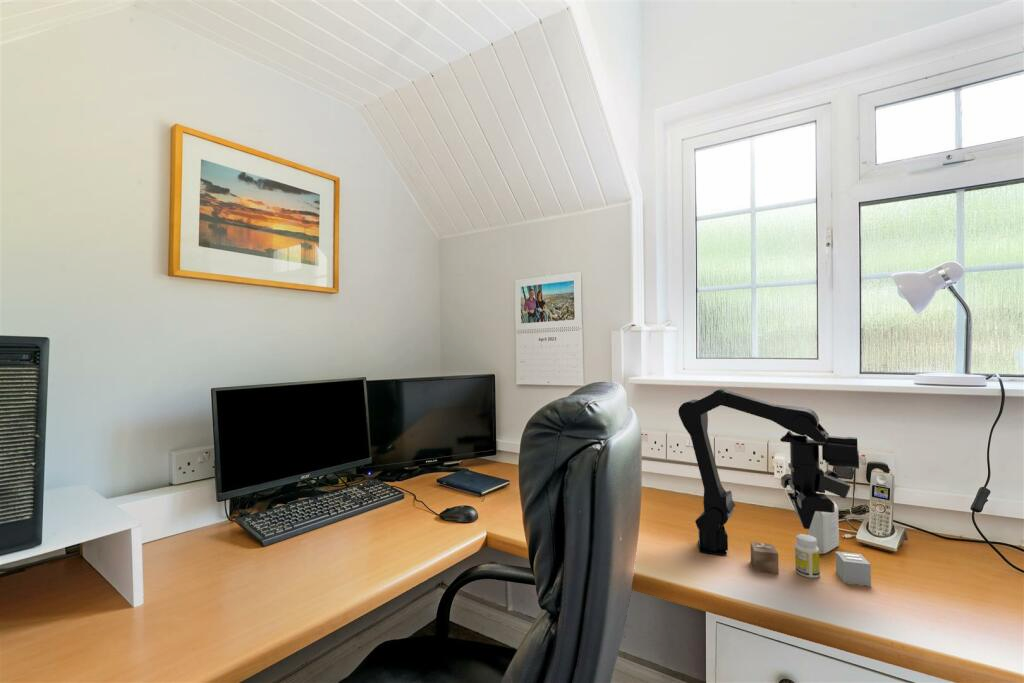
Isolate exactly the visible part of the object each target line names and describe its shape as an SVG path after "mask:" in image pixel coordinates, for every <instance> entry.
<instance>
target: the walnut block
mask: <svg viewBox="0 0 1024 683" xmlns="http://www.w3.org/2000/svg"><path fill="white" fill-rule="evenodd" d="M749 545H750V563H751V565H752V569H753V571H754V572H757V573H763V574H771V575H779V574H780V572H779V571H780V568H779V566H780V565H779V552H778V550H777V548H776V547H775V545H774V544H771V543H765V542H764V543H763V542H755V541H750V544H749Z"/></svg>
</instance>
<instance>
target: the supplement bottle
mask: <svg viewBox="0 0 1024 683" xmlns="http://www.w3.org/2000/svg"><path fill="white" fill-rule="evenodd" d="M795 538H796V540H795V542H796V543H795V544H794V556H795V557H794V559H795V561H794V563H795V571H796V572H797V574H798V575H801V576H803V577H805V578H810V579H816V578H819V577H820V574H821V571H820V568H821V566H820V554H819V549H818V547H817V540H816V538H815V537H813V536H810V535H808V534H806V533H805V534H804V533H803V534H802V533H800V534H797V535H796V537H795Z"/></svg>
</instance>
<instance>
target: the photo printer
mask: <svg viewBox="0 0 1024 683" xmlns="http://www.w3.org/2000/svg"><path fill="white" fill-rule="evenodd" d="M831 501H832V502H833V503H834V511H835V512H833V513H830V512H819V511H815V514H814V516H813V519H812V522H811V525H810V528H809V529H807V535H810V536H813V537H815V538H816V540H817V547H818V549H819V555H822V554H827V553H829V552H830V551H832V550H834V549H835V548H837V547H838V546H839V545H840V544H839V543H840V532H839V528H840V527H839V524H840V523H839V508H838V505H837V503H835V502H834V500H831Z"/></svg>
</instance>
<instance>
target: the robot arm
mask: <svg viewBox="0 0 1024 683" xmlns="http://www.w3.org/2000/svg"><path fill="white" fill-rule="evenodd" d="M721 406H722V407H723V406H724V407H727V408H730V409H734V410H737V411H739V412H743V413H746V414H749V415H753V416H756V417H759V418H763V419H766V420H768V421H771V422H774V423H776V424H777V425H778V426H781V427H782V428H784V429H786V430H787V432H786V433H785V435H782V436H781V438H780V442H782V443H789V448H790V449H789V452H790V453H789V455H790V462H788V463H787V467H788V468H789V469H790V474H785V473H784V475H782V476H781V477H780V483H781V484H780V485H781V487H782V488H784V489H787V487H788V486H789V488H790V490H791V492H787V496H788V498H789V500H790V502H791V503H792V506H793V508H794V511H795V512H796V515H797V517H798V518H799V521H800V523H801V525H802V526H801V527H802V528H803V529H804V530H808V529H809V528H810V525H811V522H812V519H813V516H814V514H815V511H819V512H830V513H833V512H835V511H834V503H835V502H834V501H833V500H831V498H829V497H828V496H827V495H826V492H828V493H830V494H834V495H836V496H839V498H842V499H846V498H847V496H848V494H849V492H850V489H851V487H852V486H851V485H850V484H849V483H847V482H846V481H845V480H843V479H841V478H839V476H838V473H837V472H835V471H833V470H830V469H827V470H826V471H824V470H823V469H822V468H820V447H821V458H822V461H825V463H827V464H828V466H831V467H841V468H847V469H848V468H849V469H856V470H859V469H860V452H859V449H858V448H859V447H858V438H857V437H854V436H846V437H845V436H833V435H830V434H829V433H828V432H827V430H826V429H825V428H824V427H823V425H821V424H820V419H819V416H818V414H817V413H816V411H814V410H813V409H811V408H809V407H802V406H794V405H783V404H775V403H772V402H768V401H766V400H765V401H764V400H761V399H758V398H754V397H750V396H748V395H744V394H740V393H737V392H733V391H730V390H728V389H726V388H720V389H717V390H715V391H713V392H712V393H711V394H708V395H706V396H704V397H703V398H700V399H690V400H688V401H686V402H683V403H682V404H680V407H678V417H679V419H680V421H681V424H682V425H683V427H684V428H685V430H686V432H687V433H688V435H689V436H690V439H691V444H692V448H693V450H694V455H695V459H696V461H697V463H696V464H697V467H698V470H699V474H700V478H701V482H702V486H703V499H702V500H703V501H702V502H703V503H702V504H703V511H702V513H701V514H700V515H699V516H698V517H697V518H696V519H695V525H696V527H697V529H698V535H697V536H698V540H697V546H698V551H699V553H703V554H712V555H719V556H727V551H728V549H729V548H728V547H729V545H728V544H729V540H728V536H729V535H728V533H727V530H726V528H725V525H726V523H727V522H728V521H729V520H730V518H731V517H732V515H733V514H734V508H735V507H736V504H735V502H734V499H733V494H732V490H727V491H726V489H725V488H724V487H723V486H722V482H721V479H720V475H719V471H718V467H717V464H716V463H717V462H716V460H715V457H714V456H715V455H714V453H713V449H712V444H711V441H710V437H709V434H708V427H709V425H708V424H709V414H708V413H709V412H710V411H712V410H714V409H717V408H718V407H721ZM809 438H810V439H809ZM832 501H833V502H834V503H833V502H832Z"/></svg>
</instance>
